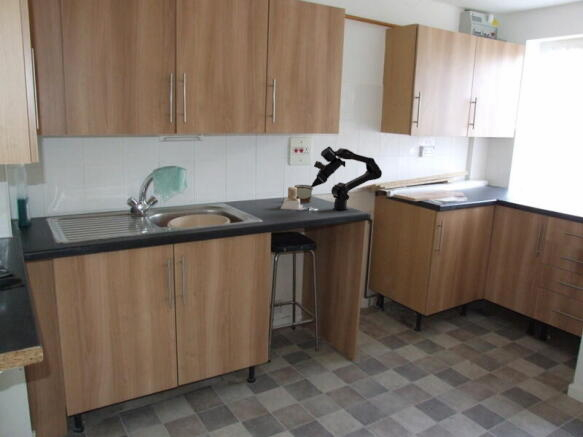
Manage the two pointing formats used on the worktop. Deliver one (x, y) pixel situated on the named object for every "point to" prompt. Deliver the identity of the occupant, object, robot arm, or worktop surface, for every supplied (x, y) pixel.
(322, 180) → the robot arm
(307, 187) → the food container
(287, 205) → the well
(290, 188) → the wooden post
